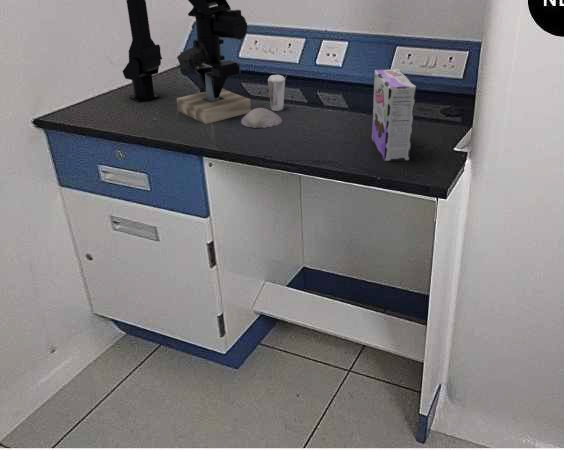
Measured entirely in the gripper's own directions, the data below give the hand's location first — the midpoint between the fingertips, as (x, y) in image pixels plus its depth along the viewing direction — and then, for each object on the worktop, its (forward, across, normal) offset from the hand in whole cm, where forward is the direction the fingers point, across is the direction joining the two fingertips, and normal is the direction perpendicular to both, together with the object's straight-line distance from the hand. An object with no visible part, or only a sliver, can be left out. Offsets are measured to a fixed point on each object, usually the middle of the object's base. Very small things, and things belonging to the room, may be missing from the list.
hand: (212, 96), depth 165 cm
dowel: (+3, 0, 0) cm, 3 cm away
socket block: (+4, 0, 0) cm, 4 cm away
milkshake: (+4, +10, +14) cm, 18 cm away
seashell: (+5, +15, +4) cm, 16 cm away
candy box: (+4, +49, +15) cm, 52 cm away
